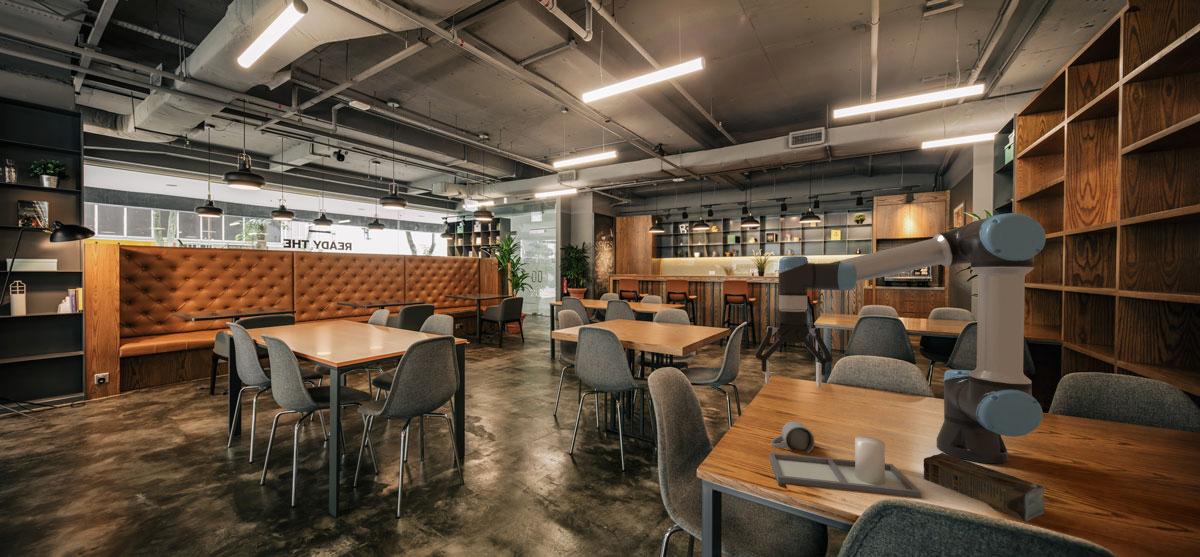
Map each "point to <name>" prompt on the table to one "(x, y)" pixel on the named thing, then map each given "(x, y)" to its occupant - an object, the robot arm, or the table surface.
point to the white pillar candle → (870, 460)
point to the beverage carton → (986, 486)
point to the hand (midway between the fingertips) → (792, 384)
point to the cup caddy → (836, 475)
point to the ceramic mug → (795, 437)
